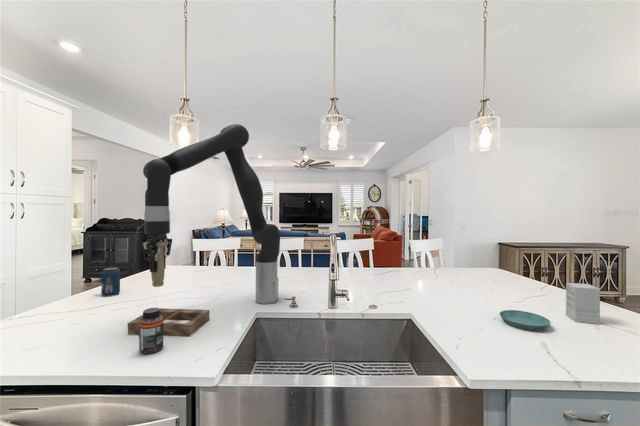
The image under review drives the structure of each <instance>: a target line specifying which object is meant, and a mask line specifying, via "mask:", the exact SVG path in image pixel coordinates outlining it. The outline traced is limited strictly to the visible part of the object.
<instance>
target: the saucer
mask: <svg viewBox="0 0 640 426" xmlns="http://www.w3.org/2000/svg"><path fill="white" fill-rule="evenodd" d="M498 313H499V316H500V317H501V319H503V321H504V322H505V323H507V324H508V325H509V326H512V327H513V328H518V329H522V330H524V331H525V330H526V331H542V330H544V329H546V328H547V327H549V326H550V324H551V321H550V319H549V318H547V317H546V316H545V317H544V316H542V315H540V314H537V313H534V312H530V311H524V310H517V309H507V310H505V309H504V310H502V311H500V312H498Z"/></svg>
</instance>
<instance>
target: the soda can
mask: <svg viewBox="0 0 640 426" xmlns="http://www.w3.org/2000/svg"><path fill="white" fill-rule="evenodd" d="M100 277H101V278H100V279H101V285H100V286H101V288H100V289H101V291H100V292H101V295H102V296H103V297H115V296H117V295H119V293H120V292H121V271H120V269H119V267H118V266H117V267H116V266H115V267H105V268H103V269H102V271H101V276H100Z"/></svg>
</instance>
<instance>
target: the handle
mask: <svg viewBox="0 0 640 426" xmlns="http://www.w3.org/2000/svg"><path fill="white" fill-rule="evenodd" d="M158 245H159V247H160V253H159V254H158V259H157V262H158V271H157V272H150V273H151V274H150V276H151V281H152V282H151V284H152V287H154V288H159V287H162V286H164V284H165V283H164V280H165V270H166V268H165V269H164V255H163V248H164V247H165V246H167V245H168V241H162V242H156V246H158ZM152 251H156V250H152ZM153 255H155V254H153Z"/></svg>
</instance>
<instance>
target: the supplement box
mask: <svg viewBox="0 0 640 426" xmlns="http://www.w3.org/2000/svg"><path fill="white" fill-rule="evenodd" d="M600 305H601V289H600V288H599V287H596V286H594V285H592V284H589V283H578V282H576V283H575V282H566V283H565V315H566V316H567V317H568V318H569V319H570V320H572V321H573V322H576V323H583V324H584V323H586V324H595V325H600V324H601V322H600V321H601V318H600V317H601V306H600Z"/></svg>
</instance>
